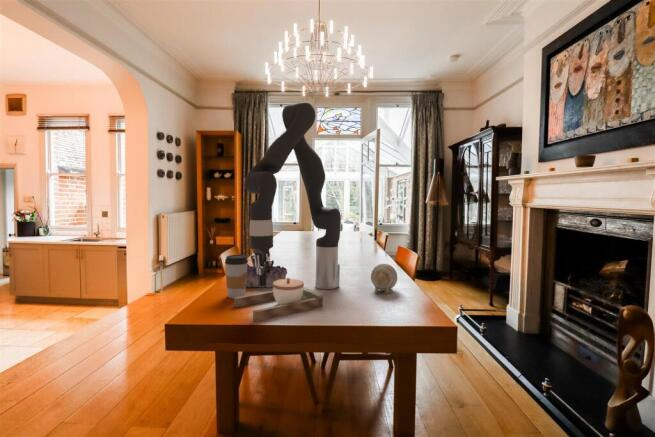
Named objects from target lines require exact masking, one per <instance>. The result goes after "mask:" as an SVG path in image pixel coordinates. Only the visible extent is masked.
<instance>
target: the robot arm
mask: <svg viewBox="0 0 655 437" xmlns="http://www.w3.org/2000/svg"><path fill="white" fill-rule="evenodd" d="M281 117H282V122H283V125H284V129H285V131H283V133H282V134H281V135H279V137H277V138H276V139H275V140H274V141H273V142H272V143H271V144H270V146H268V148H267V151H266V152H265V154H264V155H263V157H262V158H261V160H260V161H258V162H257V163H256V164H255V165H254V166H252V168H251V169H250V170H249V172H248V173H247V174H246V175H245V176H246V177H245V179H244V188H245V190H246V191H247V192H248V193H251V194H255V195H256V194H258V197H257V200H255V201H253V202H251V203H250V205H249V248H250V249H252V250H253V254H251V255H250V260H251V262H252V266H253V267H254V270H255V271H257V274H258V285H259V286H261V287H260V288H263V287H262V286H266V274H269V273H270V271H271V269H272V266H274V263H275V261H274V259H271V254H270V250H271V249H273V247H274V224H273V204H274V200H275V197H276V193H277V189H278V188H277V187H278V186H277V185H278V182H277V178H276V176H275V174H278V173H279V172H280V171H281V170H282V168H283V167H284V165H285V163H286V161H287V159H288V157H289V155H291V153H292V151H294V156H295V157H296V162H297V165H298V169H299V172H300V176H301V180H302V182H303V185H304V190H305V193H306V197H307V201H308V205H309V210H310V212H309V213H310V217H311V221H312V224H313V225H314V227H315V228H317V229H319V230H325V233H324V235H323V236H321V237H318V238H317V239H316V240H315V288H317V289H321V290H334V289H337V288H338V287H340V276H341V275H340V273H341V272H340V270H341V267H340V266H341V264H340V263H339V242H340V237H341V226H342V225H341V223H342V215H341V212H340V210H339V209H338V208H336V207H326V206H324V203H323V200H322V192H323V189H324V185H325V181H326V172H325V169H324V165H323V161H322V158H321V157H320V156H319V155H318V153H317V152H316V151H315V150H314V149H313V147H312V146H311V145H310V144H309V143H308V140H307V139H306V137H305V135H306V133H307V132H308V131H309V130H310V129H311V128H312V126H313V125H314V124H315V120H316V110H315V108H314V106H313V105H312V103H310V102H309V101H301V102H297V103H291V104H287V105H286V106H284V107H283V109H282V112H281Z"/></svg>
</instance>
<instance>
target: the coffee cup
mask: <svg viewBox="0 0 655 437" xmlns="http://www.w3.org/2000/svg"><path fill="white" fill-rule="evenodd" d="M248 260H249V259H248V256H247V255H245V254H231V255H227V256H226V257H225V259H224V261H225V262H224V265H225V280H226V281H225V282H226V289H227V290H226V291H227V297H228V298H229V299H234V298H235V297H240V296H246V289H247V288H246V280H247V264H249V263H248V262H249V261H248Z"/></svg>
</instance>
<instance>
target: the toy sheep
mask: <svg viewBox="0 0 655 437" xmlns="http://www.w3.org/2000/svg"><path fill="white" fill-rule="evenodd" d="M370 281H371V283H372V285H373V286H374V293H376V294H378V293H379V290H381V291H384V294H385V295H388V294H389V290H392V289H393V288H394V287H395V286H396V284H397V282H398V272H397V269H395V268H394V267H393V266H392V265H390V264H388V263H380V264H378V265H376V266H374V267H373V269H372V270H371V273H370Z"/></svg>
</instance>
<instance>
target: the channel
mask: <svg viewBox="0 0 655 437" xmlns="http://www.w3.org/2000/svg"><path fill="white" fill-rule="evenodd" d="M271 301H276V300H275V298H274V294H273V290H270V291H265V292H264V291H263V292H259V293H252V294H248V295H246V294H245V296H240V297H235V298H233V307H235V308H240V307H245V306H251V305H254V304H261V303H265V302H271ZM323 306H324V295H323V294H322V293H319V292H318V291H315V290H312V289H309V288H308V287H305V286H303V295H302V298H301V300H300V301H297V302H292V303H287V304H283V305H279V304H278V305H272V306H270V307H264V308H259V309H254V310H253V311H252V321H253V322H260V321H261V322H262V321H266V320H270V319H273V318H277V317H282V316H286V315H287V316H288V315H291V314H295V313H299V312H304V311H308V310H313V309H316V308H321V307H323Z"/></svg>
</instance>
